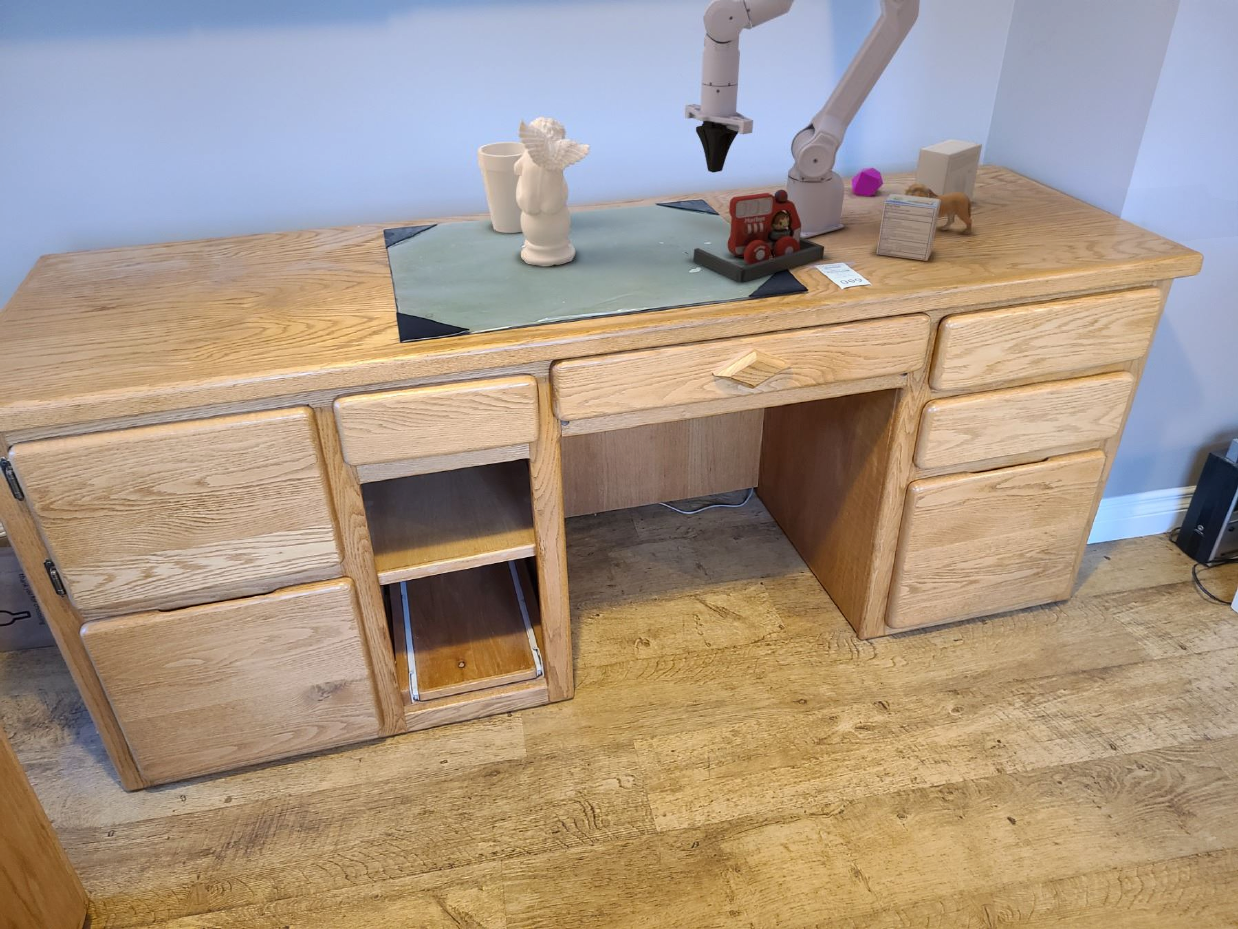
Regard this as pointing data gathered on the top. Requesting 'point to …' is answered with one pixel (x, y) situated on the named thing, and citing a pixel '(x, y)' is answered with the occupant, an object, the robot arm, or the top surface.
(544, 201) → the cherub figurine
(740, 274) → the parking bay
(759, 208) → the toy fire truck
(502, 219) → the white flower pot
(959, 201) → the lion figurine
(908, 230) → the medicine box
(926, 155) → the cosmetics box
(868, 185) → the crystal
